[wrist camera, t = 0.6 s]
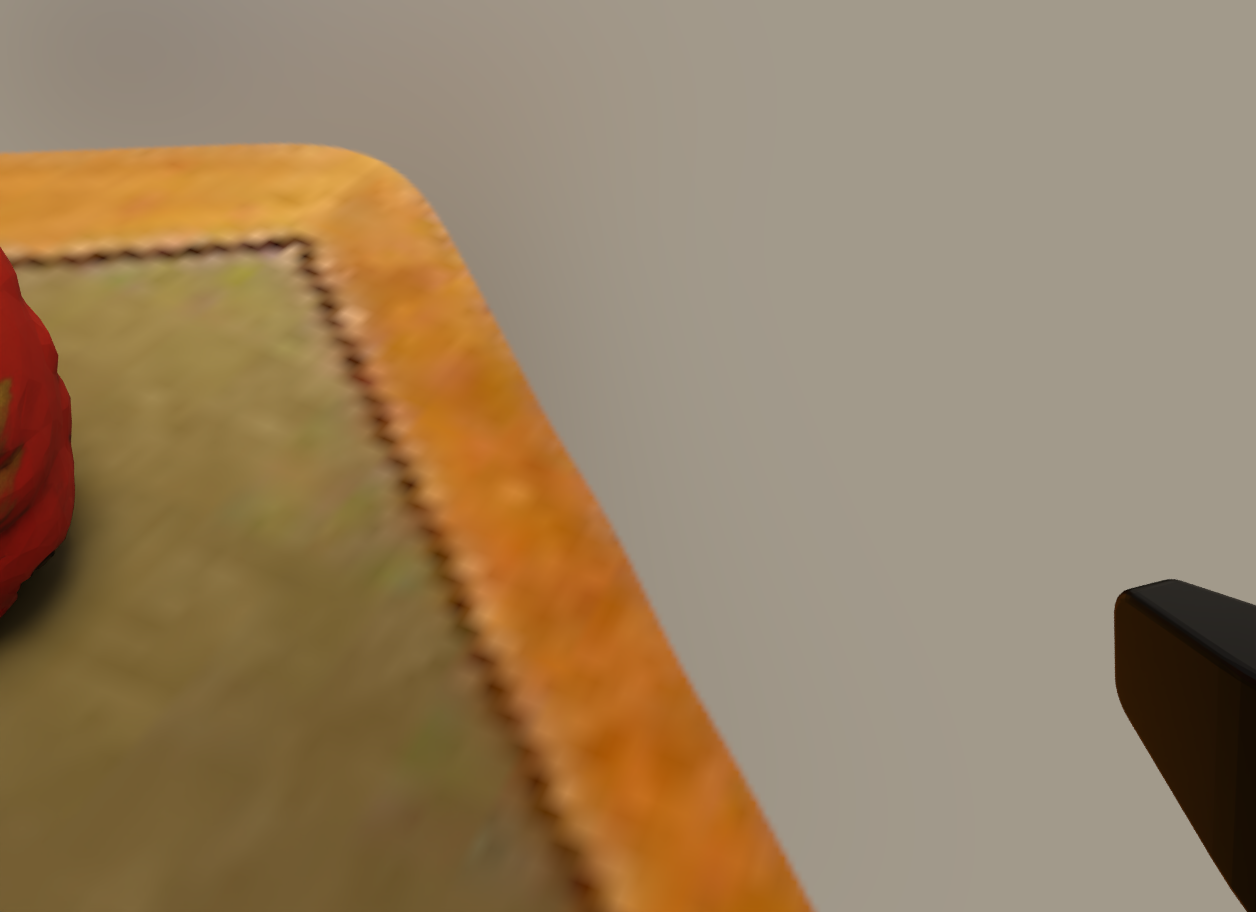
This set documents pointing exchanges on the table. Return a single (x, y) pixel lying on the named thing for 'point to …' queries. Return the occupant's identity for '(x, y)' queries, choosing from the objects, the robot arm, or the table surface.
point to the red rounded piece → (30, 442)
